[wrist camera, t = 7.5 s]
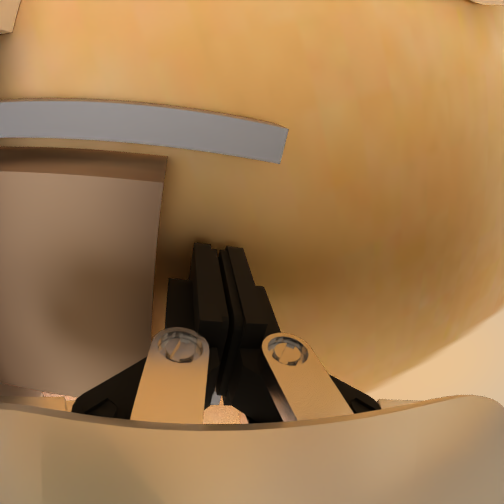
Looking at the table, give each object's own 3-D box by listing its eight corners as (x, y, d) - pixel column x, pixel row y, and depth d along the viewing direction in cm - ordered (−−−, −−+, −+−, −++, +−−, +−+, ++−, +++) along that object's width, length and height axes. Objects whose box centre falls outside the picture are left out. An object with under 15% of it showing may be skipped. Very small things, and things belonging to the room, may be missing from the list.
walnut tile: (168, 155, 9) (163, 182, 7) (150, 348, 13) (150, 404, 10) (-86, 149, 6) (-133, 174, 4) (-55, 315, 10) (-80, 356, 7)
